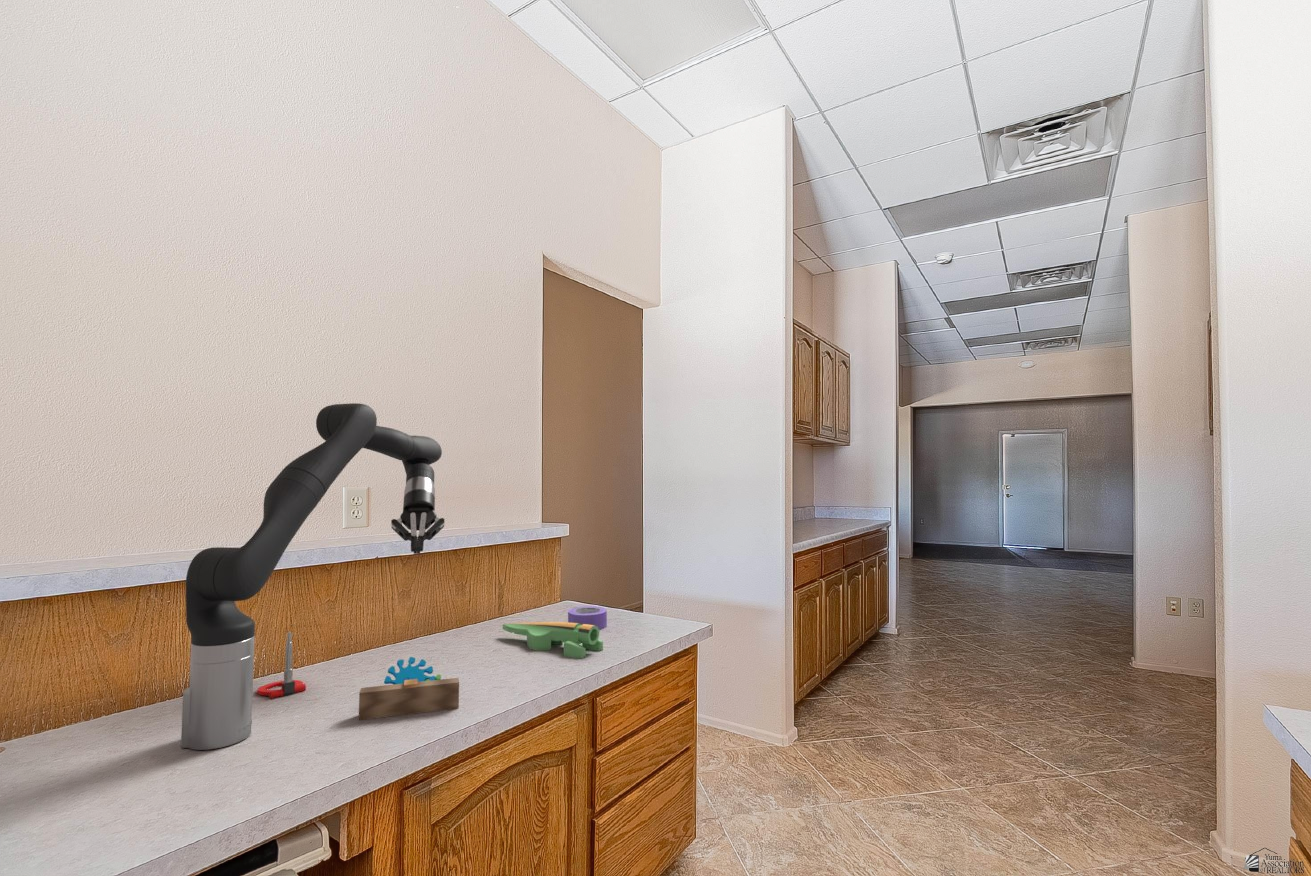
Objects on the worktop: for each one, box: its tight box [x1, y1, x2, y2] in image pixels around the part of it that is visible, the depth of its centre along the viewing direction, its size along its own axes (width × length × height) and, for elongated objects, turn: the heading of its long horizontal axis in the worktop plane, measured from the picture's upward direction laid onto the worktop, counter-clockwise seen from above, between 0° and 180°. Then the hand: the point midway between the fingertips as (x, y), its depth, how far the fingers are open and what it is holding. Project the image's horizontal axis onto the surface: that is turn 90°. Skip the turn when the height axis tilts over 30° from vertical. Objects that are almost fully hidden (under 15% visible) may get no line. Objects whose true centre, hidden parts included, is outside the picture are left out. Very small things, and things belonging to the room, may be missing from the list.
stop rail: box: [358, 677, 460, 721], centre depth 121 cm, size 18×3×6 cm, turn 109°
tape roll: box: [567, 605, 608, 631], centre depth 188 cm, size 12×12×5 cm
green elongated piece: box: [502, 621, 604, 659], centre depth 168 cm, size 32×10×7 cm, turn 59°
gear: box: [383, 656, 442, 685], centre depth 129 cm, size 11×6×10 cm
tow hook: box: [256, 631, 307, 699], centre depth 133 cm, size 8×13×9 cm
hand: (417, 551), depth 147 cm, fingers closed
